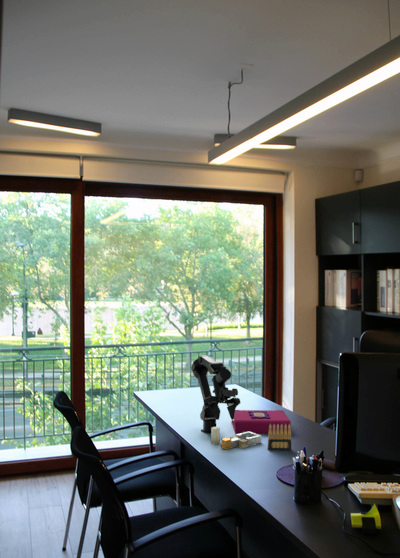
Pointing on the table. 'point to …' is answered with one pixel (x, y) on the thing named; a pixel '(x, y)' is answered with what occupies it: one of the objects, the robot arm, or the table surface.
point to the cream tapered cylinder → (215, 435)
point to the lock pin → (229, 443)
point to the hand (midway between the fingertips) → (225, 419)
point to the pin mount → (241, 442)
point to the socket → (250, 438)
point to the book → (259, 420)
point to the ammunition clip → (279, 438)
